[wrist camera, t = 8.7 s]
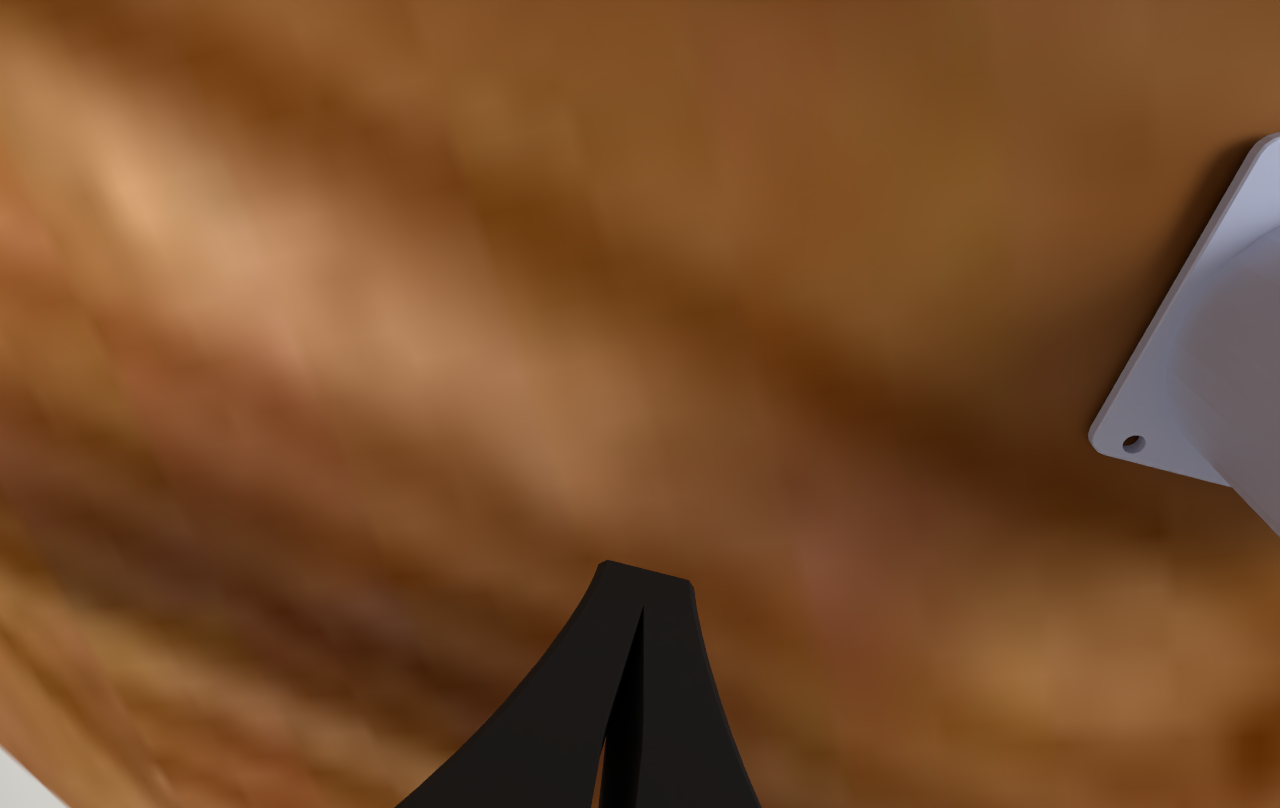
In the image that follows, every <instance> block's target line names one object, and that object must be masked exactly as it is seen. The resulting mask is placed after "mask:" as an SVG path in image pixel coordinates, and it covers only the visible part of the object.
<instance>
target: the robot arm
mask: <svg viewBox="0 0 1280 808" xmlns="http://www.w3.org/2000/svg"><path fill="white" fill-rule="evenodd" d="M1134 435H1136V436H1139V438H1138V440H1137V441H1136V442H1135V443H1134V444H1131V445H1128V446H1126V445H1123V442H1124V441H1125V440H1126V439H1127V438H1128V437H1131V436H1134ZM1088 438H1089V442H1090V443H1091V444H1092V446H1093V447H1094V448H1095V449H1096V451H1097V452H1099V453H1101V454H1103V455H1106V456H1110V457H1114V458H1118V459H1122V460H1126V461H1130V462H1134V463H1138V464H1142V465H1146V466H1150V467H1153V468H1157V469H1161V470H1165V471H1169V472H1173V473H1177V474H1181V475H1185V476H1189V477H1193V478H1197V479H1201V480H1204V481H1208V482H1212V483H1216V484H1220V485H1224V486H1228V487H1232V488H1233V489H1234V490H1235V491H1236V492H1237V493H1238V494H1239V495H1240V496H1241V497H1242V498H1243V499H1244V500H1245V502H1246V503H1247V504H1248V505H1249V506H1250V507H1251V508H1252V509H1253V510H1254V511H1255V512H1256V513H1257V514H1258V515H1259V516H1260V517H1261V518H1262V519H1263V520H1264V521H1265V523H1266V524H1267V525H1268V526H1269V527H1270V528H1271V529H1272V530H1273V531H1274V532H1275V533H1276V534H1277V535H1278V536H1279V537H1280V133H1274V134H1271V135H1267V136H1265V137H1264V138H1262V139H1261V140H1259V141H1258V142H1256V144H1255V145H1254V146H1253V147H1252V149H1251V150H1250V151H1249V153H1248V155H1247V156H1246V158H1245V160H1244V161H1243V163H1242V165H1241V167H1240V168H1239V170H1238V172H1237V174H1236V175H1235V177H1234V179H1233V181H1232V182H1231V184H1230V186H1229V187H1228V189H1227V191H1226V193H1225V194H1224V196H1223V198H1222V200H1221V201H1220V203H1219V205H1218V207H1217V208H1216V210H1215V212H1214V214H1213V215H1212V217H1211V219H1210V220H1209V222H1208V224H1207V226H1206V227H1205V229H1204V231H1203V233H1202V234H1201V236H1200V238H1199V240H1198V241H1197V243H1196V245H1195V246H1194V248H1193V250H1192V252H1191V253H1190V255H1189V257H1188V259H1187V260H1186V262H1185V264H1184V266H1183V267H1182V269H1181V271H1180V273H1179V274H1178V276H1177V278H1176V279H1175V281H1174V283H1173V285H1172V286H1171V288H1170V290H1169V292H1168V293H1167V295H1166V297H1165V299H1164V300H1163V302H1162V304H1161V305H1160V307H1159V309H1158V311H1157V312H1156V314H1155V316H1154V318H1153V319H1152V321H1151V323H1150V325H1149V326H1148V328H1147V330H1146V331H1145V333H1144V335H1143V337H1142V338H1141V340H1140V342H1139V344H1138V345H1137V347H1136V349H1135V351H1134V352H1133V354H1132V356H1131V358H1130V359H1129V361H1128V363H1127V364H1126V366H1125V368H1124V370H1123V371H1122V373H1121V375H1120V377H1119V378H1118V380H1117V382H1116V384H1115V385H1114V387H1113V389H1112V390H1111V392H1110V394H1109V396H1108V397H1107V399H1106V401H1105V403H1104V404H1103V406H1102V408H1101V410H1100V411H1099V413H1098V415H1097V417H1096V418H1095V420H1094V422H1093V423H1092V425H1091V427H1090V429H1089V432H1088ZM606 734H607V735H606ZM605 738H606V743H605V752H604V762H603V771H602V780H601V789H600V798H599V808H762V807H761V805H760V803H759V800H758V798H757V796H756V794H755V791H754V789H753V787H752V784H751V782H750V779H749V777H748V774H747V772H746V770H745V767H744V765H743V762H742V759H741V757H740V754H739V751H738V749H737V746H736V743H735V741H734V738H733V736H732V733H731V730H730V727H729V724H728V721H727V718H726V716H725V713H724V710H723V706H722V703H721V700H720V697H719V694H718V690H717V687H716V684H715V681H714V678H713V674H712V671H711V667H710V664H709V660H708V656H707V652H706V648H705V644H704V640H703V636H702V632H701V627H700V623H699V618H698V613H697V607H696V600H695V593H694V587H693V586H692V584H691V583H690V581H689V580H686V579H682V578H678V577H674V576H670V575H666V574H662V573H658V572H654V571H650V570H646V569H642V568H638V567H634V566H630V565H626V564H622V563H618V562H614V561H610V560H607V561H604V562H602V563H600V564H598V567H597V570H596V573H595V575H594V577H593V579H592V582H591V584H590V586H589V588H588V589H587V591H586V593H585V595H584V597H583V598H582V600H581V602H580V603H579V605H578V606H577V608H576V609H575V611H574V613H573V614H572V616H571V617H570V619H569V620H568V622H567V623H566V625H565V626H564V627H563V629H562V630H561V632H560V633H559V634H558V636H557V637H556V638H555V640H554V641H553V643H552V644H551V645H550V647H549V648H548V649H547V651H546V652H545V654H544V655H543V656H542V657H541V659H540V660H539V661H538V663H537V664H536V665H535V666H534V667H533V669H532V670H531V671H530V672H529V673H528V675H527V676H526V677H525V678H524V679H523V680H522V682H521V683H520V684H519V685H518V686H517V688H516V689H515V690H514V691H513V692H512V693H511V695H510V696H509V697H508V698H507V699H506V701H505V702H504V703H503V704H502V705H501V706H500V707H499V708H498V709H497V710H496V712H495V713H494V714H493V715H492V716H491V717H490V718H489V719H488V720H487V721H486V722H485V723H484V724H483V725H482V726H481V727H480V729H479V730H478V731H477V732H476V733H475V734H474V735H473V736H472V737H471V738H470V739H469V740H468V741H467V742H466V743H465V744H464V745H463V746H462V747H461V748H460V749H459V750H458V751H457V752H456V753H454V754H453V755H452V756H451V757H450V758H449V759H448V760H447V761H446V762H445V763H444V764H443V765H442V766H440V767H439V768H438V769H437V770H436V771H435V772H434V773H433V774H432V775H431V776H430V777H429V778H427V779H426V780H425V781H424V782H423V783H422V784H421V785H420V786H419V787H418V788H417V789H415V790H414V791H413V792H412V793H411V794H410V795H408V796H407V797H406V798H405V799H404V800H403V801H402V802H400V803H399V804H398V805H397V806H396V807H394V808H591V803H592V798H593V792H594V786H595V781H596V775H597V770H598V764H599V759H600V754H601V751H602V747H603V744H604V741H605Z"/></svg>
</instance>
